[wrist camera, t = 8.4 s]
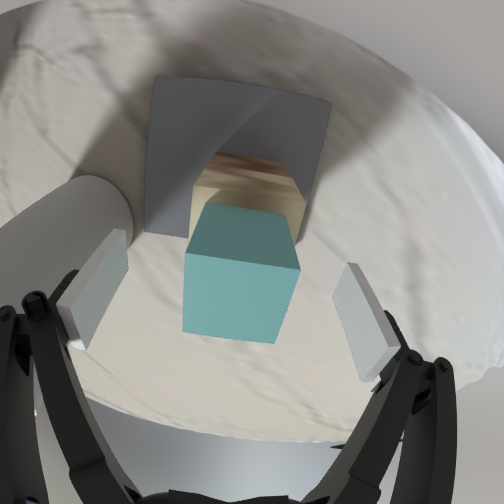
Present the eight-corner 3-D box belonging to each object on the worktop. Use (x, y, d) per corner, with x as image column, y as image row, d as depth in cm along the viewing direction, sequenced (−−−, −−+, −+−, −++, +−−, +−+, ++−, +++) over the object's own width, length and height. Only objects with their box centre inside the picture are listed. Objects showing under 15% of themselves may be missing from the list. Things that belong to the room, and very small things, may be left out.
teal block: (198, 268, 19) (182, 331, 14) (205, 202, 16) (185, 252, 11) (268, 278, 19) (274, 343, 14) (285, 215, 17) (300, 269, 12)
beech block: (198, 238, 24) (186, 278, 19) (207, 163, 21) (193, 185, 16) (274, 250, 25) (280, 291, 20) (292, 178, 22) (306, 203, 16)
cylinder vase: (127, 270, 35) (50, 430, 14) (58, 240, 33) (-41, 364, 11) (145, 191, 30) (8, 365, 8) (65, 162, 27) (-88, 271, 5)
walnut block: (207, 213, 30) (198, 238, 24) (216, 151, 26) (207, 163, 21) (270, 223, 30) (274, 250, 25) (283, 162, 27) (292, 178, 22)
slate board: (148, 226, 32) (144, 231, 31) (160, 77, 23) (155, 76, 22) (290, 247, 34) (292, 254, 32) (328, 102, 25) (332, 102, 23)
